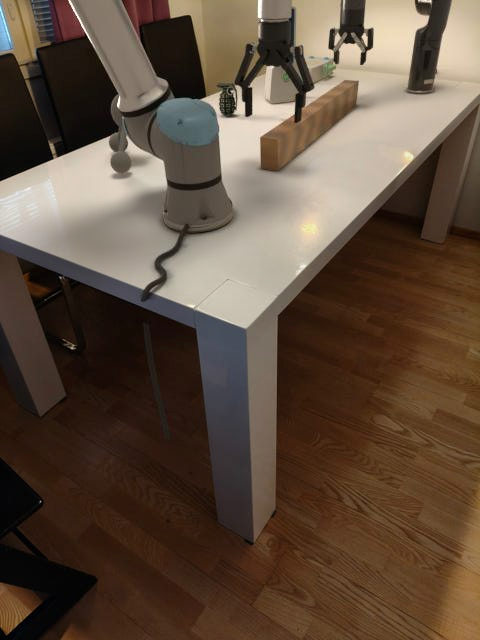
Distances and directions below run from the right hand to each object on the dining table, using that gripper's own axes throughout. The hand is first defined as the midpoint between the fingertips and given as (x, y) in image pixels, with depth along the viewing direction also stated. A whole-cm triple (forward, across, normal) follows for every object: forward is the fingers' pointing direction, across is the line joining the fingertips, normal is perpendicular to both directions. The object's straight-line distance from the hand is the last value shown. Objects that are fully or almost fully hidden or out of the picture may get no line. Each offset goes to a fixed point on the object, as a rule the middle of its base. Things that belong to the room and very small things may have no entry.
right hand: (349, 64), depth 161 cm
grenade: (+13, +35, +21) cm, 43 cm away
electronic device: (+14, +26, -3) cm, 29 cm away
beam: (+13, 0, +29) cm, 32 cm away
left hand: (0, 0, +59) cm, 59 cm away
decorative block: (+14, +31, -39) cm, 52 cm away
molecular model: (+12, +37, +67) cm, 77 cm away
